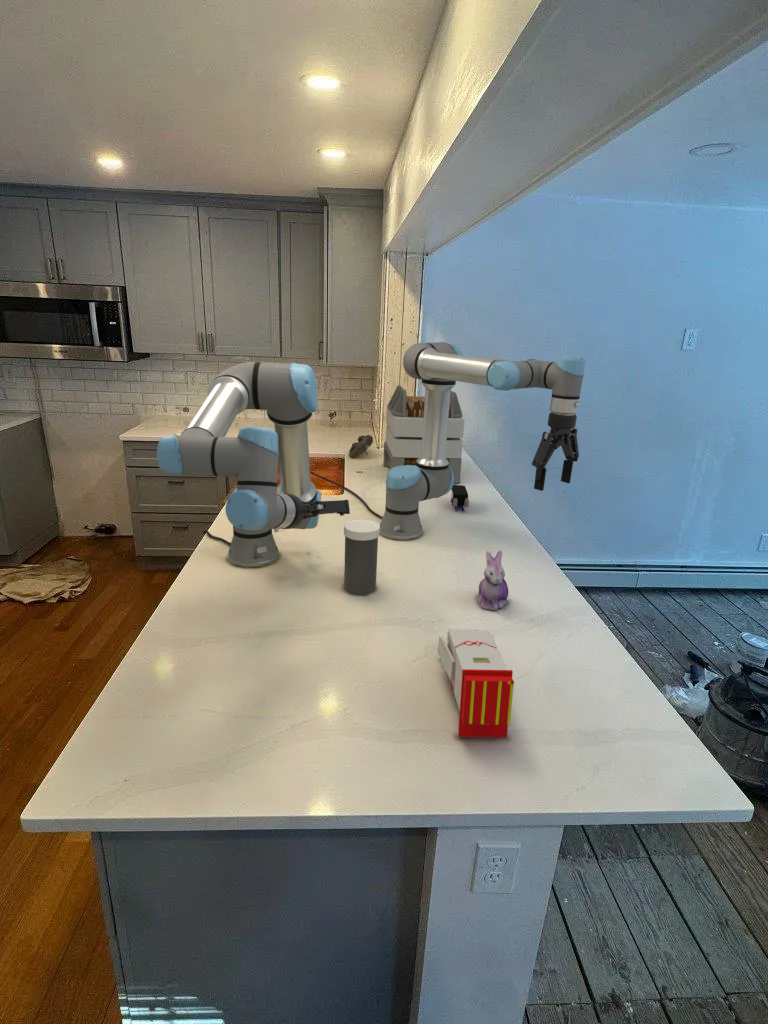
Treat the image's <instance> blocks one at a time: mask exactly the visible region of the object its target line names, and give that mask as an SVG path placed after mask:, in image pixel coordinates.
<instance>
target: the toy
mask: <svg viewBox="0 0 768 1024" xmlns="http://www.w3.org/2000/svg"><path fill="white" fill-rule="evenodd" d="M446 640H447V643H446V641H445V639H444V636H443V635H442V634H439V637H438V646H437V656H438V657H439V659H440V661H441V663H442V666H443V668H444V670H445V672H446V674H447V677H448V679H449V681H450V684H451V687H452V690H453V693H454V697H455V701H456V705H457V708H458V711H459V714H458V715H459V716H458V730H457V731H458V732H457V737H458V738H508V731H509V726H510V725H511V717H512V707H513V697H514V696H513V695H514V684H515V680H514V679H513V673H514V671H513V670H512V669H508V667H507V665H506V662H505V661H504V659H503V658H502V655H501V653H500V651H499V649H498V647H497V643H496V639H495V637H494V635H493V634H491V632H490V631H489V629H467V628H466V629H465V628H463V629H461V628H460V629H459V628H448V630H447V639H446Z"/></svg>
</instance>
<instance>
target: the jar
mask: <svg viewBox="0 0 768 1024" xmlns="http://www.w3.org/2000/svg"><path fill="white" fill-rule="evenodd" d="M378 545H379V536H378V537H377V538H375V539H372V540H365V541H361V540H353V539H350V538H348V537H346V536H345V535H344V568H343V569H344V570H343V571H344V573H343V589H344V591H345V592H347V593H348V594H351V595H355V596H366V595H370V594H373V593H374V592H375V591H376V589H377V575H378V574H377V569H378V551H379V550H378V548H379V547H378Z"/></svg>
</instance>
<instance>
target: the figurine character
mask: <svg viewBox="0 0 768 1024" xmlns="http://www.w3.org/2000/svg"><path fill="white" fill-rule="evenodd" d="M449 502H450V504H451V506H452V507H453V508H454V511H456V512H457V511H458V509H461V511H462V512H464V511H465V508H469V505H470V500H469V492H468V490H467V488H466V485H464V484H463V485H461V484H453V487H452V489H451V494H450V501H449Z"/></svg>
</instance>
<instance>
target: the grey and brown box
mask: <svg viewBox="0 0 768 1024" xmlns="http://www.w3.org/2000/svg"><path fill="white" fill-rule="evenodd" d="M407 394H408V393H407V390H406V389H404V388H403V387H402V385H399V384H398V385H397V386H396V388H395V390H394V392H393V394H392V395H391V398H390V400H389V402H388V404H387V405H386V413H385V414H386V415H385V423H386V428H385V438H384V442H383V466H384V467H388V468H389V470H390V469H392V468H394V467H396V466H401V465H404V466H405V465H413V466H416V461H417V459H418V458H420V457H421V449H422V434H423V419H424V404H425V396H415V395H414V396H413V395H412V396H411V395H407ZM464 429H465V419H464V418H463V411H462V408H461V405H460V402H459V398H458V395H457V392H455V391H453V390H451V392H450V404H449V416H448V428H447V441H446V453H445V458H446V459H447V461H448V462H449V466H450V467H451V469H452V473H454V484H455V483H456V484H459V483H461V472H462V461H463V460H462V453H463V442H464V441H463V440H462V439H463V438H464V431H465V430H464Z"/></svg>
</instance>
